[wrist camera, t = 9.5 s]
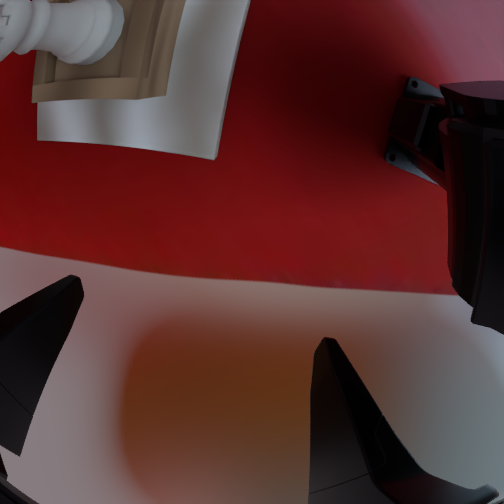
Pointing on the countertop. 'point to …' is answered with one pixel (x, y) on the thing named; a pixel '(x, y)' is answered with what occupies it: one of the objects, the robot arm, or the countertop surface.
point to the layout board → (184, 98)
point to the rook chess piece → (61, 28)
